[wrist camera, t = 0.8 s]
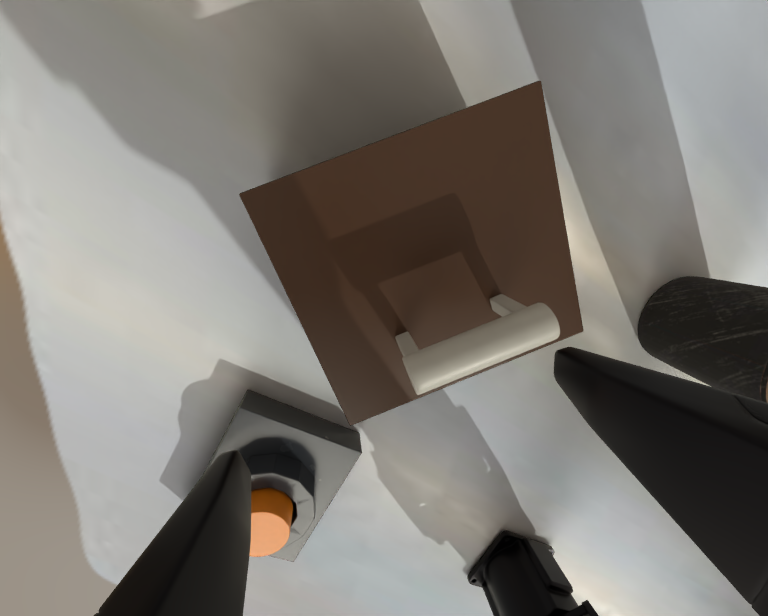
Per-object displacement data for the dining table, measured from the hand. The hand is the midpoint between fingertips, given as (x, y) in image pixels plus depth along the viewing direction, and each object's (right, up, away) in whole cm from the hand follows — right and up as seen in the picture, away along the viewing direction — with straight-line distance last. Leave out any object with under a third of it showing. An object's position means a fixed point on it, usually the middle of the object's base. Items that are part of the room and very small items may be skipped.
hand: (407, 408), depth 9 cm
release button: (-9, -11, +13) cm, 19 cm away
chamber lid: (+2, +5, +7) cm, 9 cm away
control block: (-9, -10, +17) cm, 21 cm away
